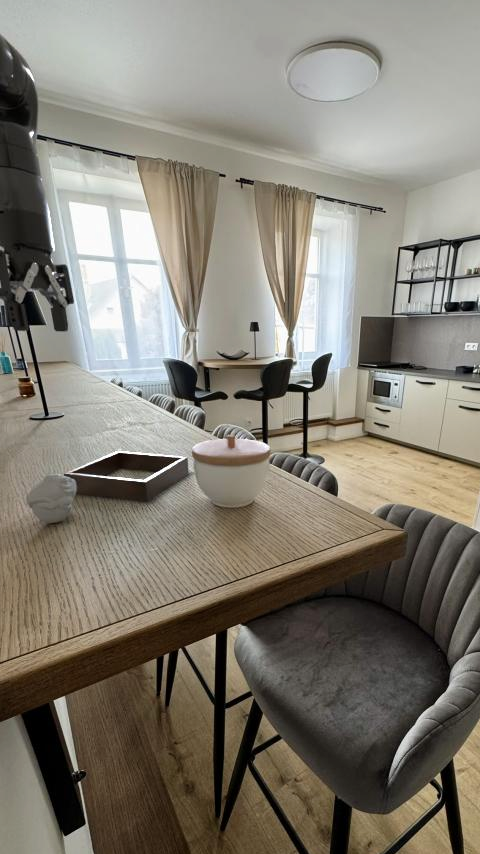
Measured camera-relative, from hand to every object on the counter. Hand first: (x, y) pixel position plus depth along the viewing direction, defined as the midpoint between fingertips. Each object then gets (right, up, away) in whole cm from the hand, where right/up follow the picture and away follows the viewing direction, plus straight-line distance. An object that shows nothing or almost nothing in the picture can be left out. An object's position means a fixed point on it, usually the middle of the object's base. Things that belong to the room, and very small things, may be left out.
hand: (42, 331), depth 67 cm
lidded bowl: (+31, -28, +3) cm, 41 cm away
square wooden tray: (+11, -24, +10) cm, 28 cm away
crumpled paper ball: (+6, -31, -6) cm, 32 cm away
